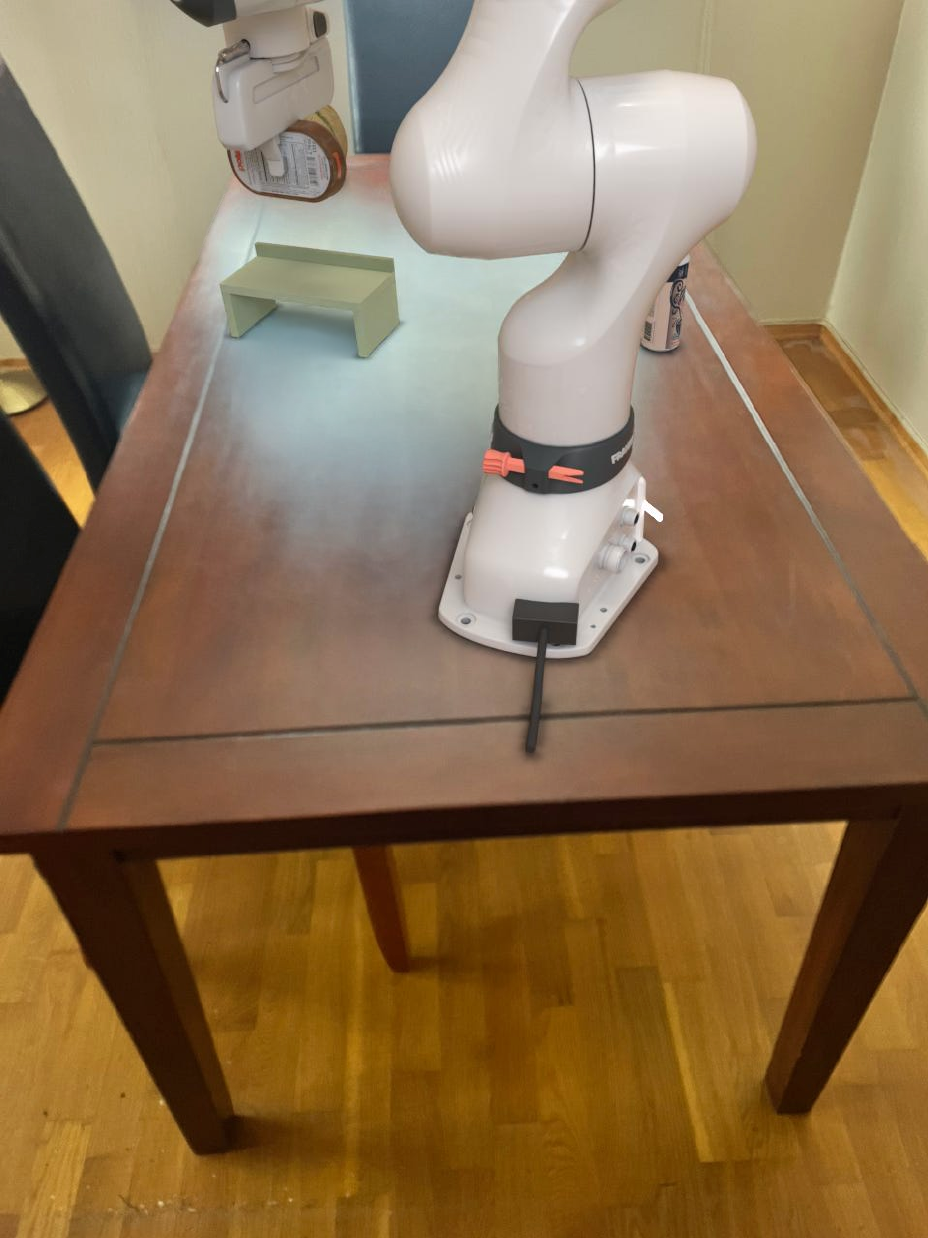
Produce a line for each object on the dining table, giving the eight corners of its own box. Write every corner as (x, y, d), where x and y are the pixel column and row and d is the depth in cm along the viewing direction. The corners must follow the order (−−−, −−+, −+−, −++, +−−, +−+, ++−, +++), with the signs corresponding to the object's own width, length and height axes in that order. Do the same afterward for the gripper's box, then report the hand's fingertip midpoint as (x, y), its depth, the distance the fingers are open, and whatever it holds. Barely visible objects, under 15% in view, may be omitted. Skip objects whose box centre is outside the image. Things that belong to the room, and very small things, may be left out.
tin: (351, 200, 108) (344, 120, 103) (337, 208, 106) (329, 127, 101) (245, 186, 113) (232, 109, 108) (229, 194, 111) (216, 116, 106)
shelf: (366, 357, 117) (358, 289, 111) (231, 336, 122) (216, 270, 116) (399, 323, 123) (393, 257, 117) (269, 304, 129) (257, 241, 123)
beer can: (678, 355, 114) (690, 258, 106) (639, 353, 115) (648, 256, 106) (679, 337, 117) (691, 241, 109) (641, 335, 118) (650, 240, 110)
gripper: (239, 55, 90) (266, 202, 100) (336, 11, 104) (351, 144, 113) (185, 52, 92) (216, 196, 102) (287, 9, 106) (306, 140, 115)
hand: (288, 168), depth 108 cm, fingers closed on tin, 2 cm apart
